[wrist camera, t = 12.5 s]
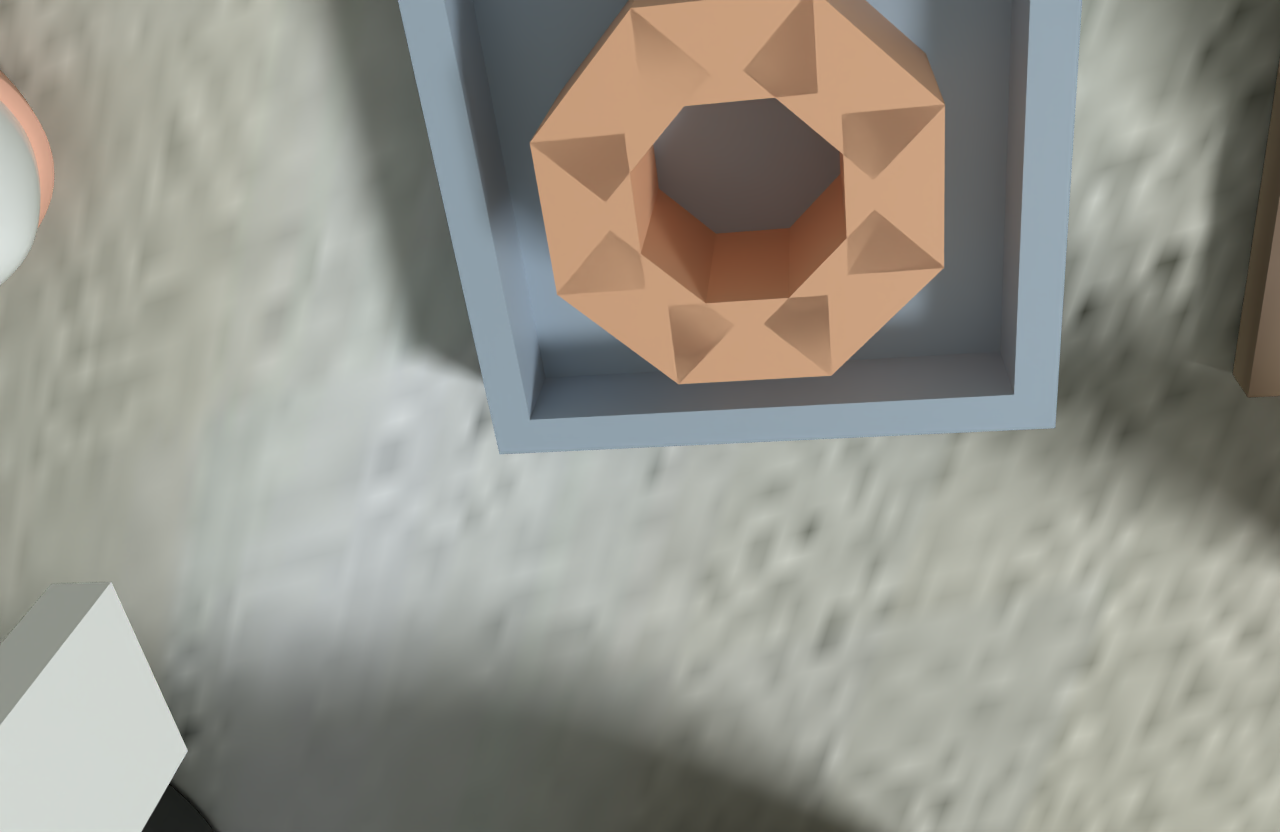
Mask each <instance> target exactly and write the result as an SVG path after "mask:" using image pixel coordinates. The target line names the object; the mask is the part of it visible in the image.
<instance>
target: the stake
mask: <svg viewBox="0 0 1280 832" xmlns="http://www.w3.org/2000/svg"><path fill="white" fill-rule="evenodd" d="M1233 376H1234V377H1235V379H1236V380H1237V382H1238V383H1239V385H1240V386H1241V388H1242V389H1243V391H1244V392H1245V394H1246V395H1247V397H1268V396H1280V60H1279V67H1278V73H1277V80H1276V87H1275V94H1274V100H1273V107H1272V114H1271V120H1270V127H1269V134H1268V140H1267V147H1266V154H1265V161H1264V167H1263V174H1262V181H1261V187H1260V194H1259V201H1258V207H1257V214H1256V221H1255V228H1254V234H1253V241H1252V248H1251V254H1250V261H1249V268H1248V275H1247V281H1246V288H1245V295H1244V301H1243V308H1242V315H1241V321H1240V328H1239V335H1238V342H1237V348H1236V355H1235V362H1234V368H1233Z"/></svg>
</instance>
